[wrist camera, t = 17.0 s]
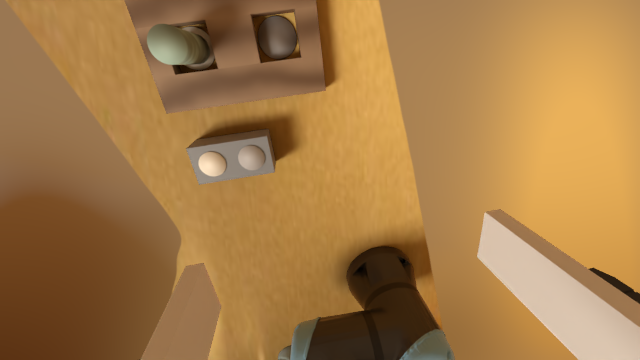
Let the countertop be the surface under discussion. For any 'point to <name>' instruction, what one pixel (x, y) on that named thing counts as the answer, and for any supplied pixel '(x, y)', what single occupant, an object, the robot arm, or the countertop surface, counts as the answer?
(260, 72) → the board
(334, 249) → the countertop surface
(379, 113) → the countertop surface
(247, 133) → the block
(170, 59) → the pin
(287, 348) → the blue embossed mug
